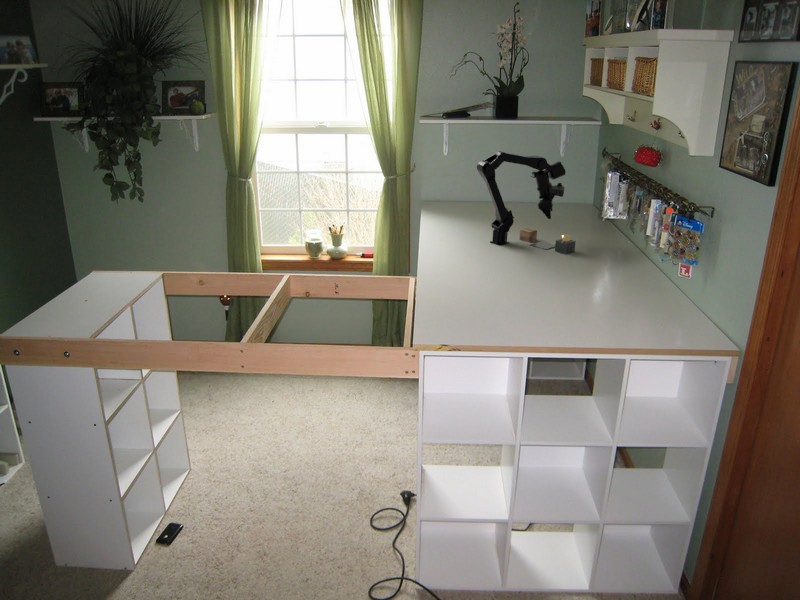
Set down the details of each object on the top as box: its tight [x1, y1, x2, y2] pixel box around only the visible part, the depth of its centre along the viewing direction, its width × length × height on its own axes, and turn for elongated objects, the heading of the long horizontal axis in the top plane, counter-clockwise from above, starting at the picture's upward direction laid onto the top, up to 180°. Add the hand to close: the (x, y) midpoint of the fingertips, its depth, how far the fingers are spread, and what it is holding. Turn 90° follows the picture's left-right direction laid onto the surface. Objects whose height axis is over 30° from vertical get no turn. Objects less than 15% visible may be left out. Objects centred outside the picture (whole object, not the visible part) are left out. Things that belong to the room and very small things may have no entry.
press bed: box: [529, 240, 556, 251], centre depth 293 cm, size 9×9×1 cm
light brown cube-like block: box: [519, 227, 538, 243], centre depth 301 cm, size 6×6×5 cm
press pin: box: [561, 233, 572, 242], centre depth 282 cm, size 4×4×5 cm
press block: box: [554, 238, 577, 255], centre depth 283 cm, size 6×6×5 cm
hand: (550, 214), depth 298 cm, fingers open, 9 cm apart
